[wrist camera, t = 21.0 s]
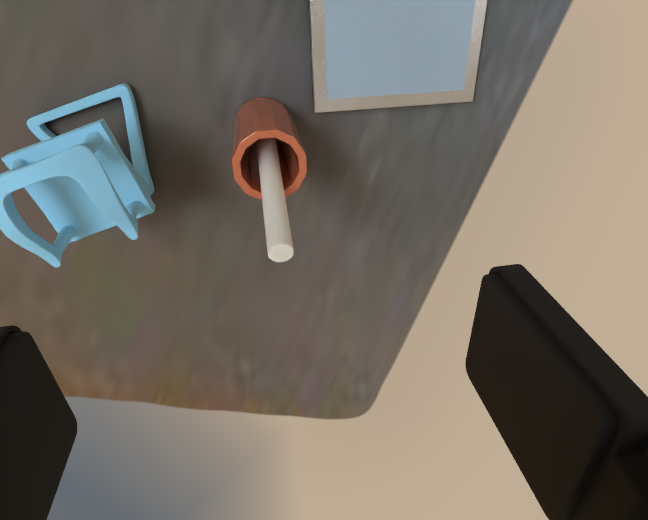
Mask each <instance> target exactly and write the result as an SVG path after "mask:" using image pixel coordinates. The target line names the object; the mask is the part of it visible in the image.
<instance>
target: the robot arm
mask: <svg viewBox="0 0 648 520" xmlns="http://www.w3.org/2000/svg"><path fill="white" fill-rule="evenodd" d="M466 371H467V373H468V376H469V379H470V380H471V382H472V384H473V386H474V387H475V389H476V391H477V393H478V395H479V397H480V398H481V400H482V402H483V404H484V405H485V407H486V409H487V411H488V413H489V414H490V416H491V418H492V420H493V422H494V423H495V425H496V427H497V429H498V430H499V432H500V434H501V436H502V438H503V439H504V441H505V443H506V445H507V447H508V448H509V450H510V452H511V454H512V455H513V457H514V459H515V461H516V463H517V464H518V466H519V468H520V470H521V472H522V473H523V475H524V477H525V479H526V481H527V482H528V484H529V486H530V488H531V490H532V491H533V493H534V495H535V497H536V499H537V500H538V502H539V504H540V506H541V507H542V509H543V511H544V513H545V514H546V516H547V517H548V519H549V520H648V397H647V396H646V395H645V394H644V393H643V391H642V390H640V388H639V387H638V386H637V385H636V384H635V383H634V382H633V381H632V380H631V379H630V378H629V377H628V376H627V375H626V374H625V373H624V371H623V370H622V369H621V368H619V366H618V365H617V364H616V363H615V362H614V361H613V360H612V359H611V358H610V357H609V356H608V355H607V354H606V353H605V352H604V350H602V348H601V347H600V346H599V345H598V344H597V343H596V342H595V341H594V340H593V339H592V338H591V337H590V336H589V335H588V334H587V333H586V332H585V331H584V330H583V328H582V327H581V326H580V325H579V324H578V323H577V322H576V321H575V320H574V319H573V318H572V317H571V316H570V315H569V314H568V313H567V312H566V311H565V310H564V308H562V307H561V305H560V304H559V303H558V302H557V301H556V300H555V299H554V298H553V297H552V296H551V295H550V294H549V293H548V292H547V291H546V290H545V289H544V287H542V285H541V284H539V282H538V281H537V280H536V279H535V278H534V277H533V276H532V275H531V274H530V273H529V272H528V271H527V270H526V269H525V268H524V267H523V266H522V265H519V264H515V265H506V266H498V267H493V268H492V269H491V270H490V272H489V274H487V275H485V276H484V277H483V279H482V283H481V287H480V292H479V297H478V302H477V307H476V312H475V317H474V322H473V327H472V332H471V337H470V342H469V347H468V352H467V357H466ZM76 434H77V421H76V418H75V416H74V414H73V412H72V410H71V408H70V407H69V405H68V403H67V401H66V399H65V397H64V395H63V393H62V392H61V390H60V388H59V386H58V384H57V382H56V380H55V379H54V377H53V375H52V373H51V371H50V369H49V367H48V365H47V364H46V362H45V360H44V358H43V356H42V354H41V352H40V351H39V349H38V347H37V345H36V343H35V341H34V339H33V338H32V336H31V335H30V333H28V332H22V331H21V329H20V328H18V327H17V326H5V327H0V520H47V517H48V514H49V511H50V508H51V505H52V502H53V500H54V497H55V494H56V491H57V488H58V485H59V482H60V480H61V477H62V474H63V471H64V469H65V466H66V463H67V460H68V457H69V454H70V452H71V449H72V446H73V443H74V440H75V437H76Z"/></svg>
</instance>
